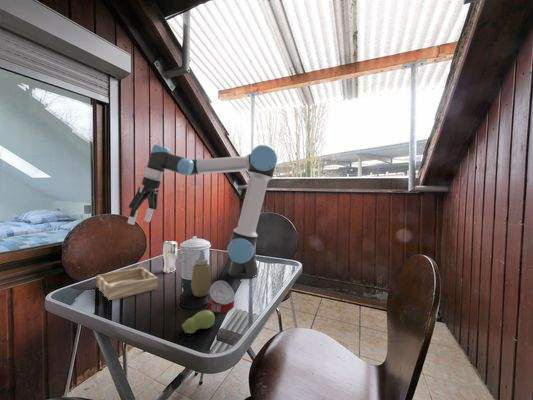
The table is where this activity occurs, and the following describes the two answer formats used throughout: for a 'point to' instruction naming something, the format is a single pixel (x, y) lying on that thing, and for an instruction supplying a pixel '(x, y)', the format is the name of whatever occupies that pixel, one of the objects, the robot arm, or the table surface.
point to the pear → (199, 321)
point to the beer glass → (169, 256)
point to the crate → (126, 283)
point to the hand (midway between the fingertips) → (139, 222)
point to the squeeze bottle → (201, 276)
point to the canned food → (220, 297)
